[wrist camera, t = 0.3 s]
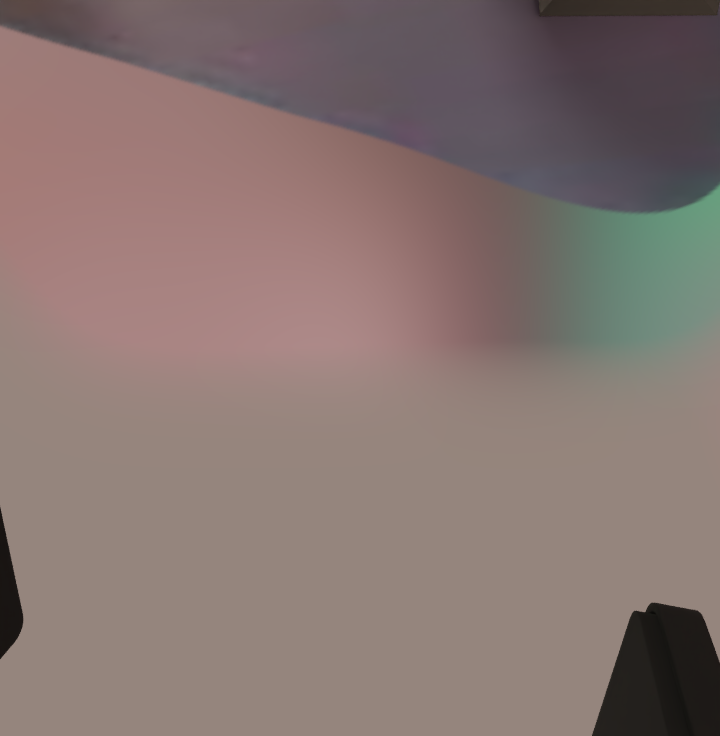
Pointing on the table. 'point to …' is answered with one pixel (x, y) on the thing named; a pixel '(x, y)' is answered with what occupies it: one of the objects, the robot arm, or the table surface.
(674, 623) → the robot arm
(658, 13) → the grey angular figure
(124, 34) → the table surface
